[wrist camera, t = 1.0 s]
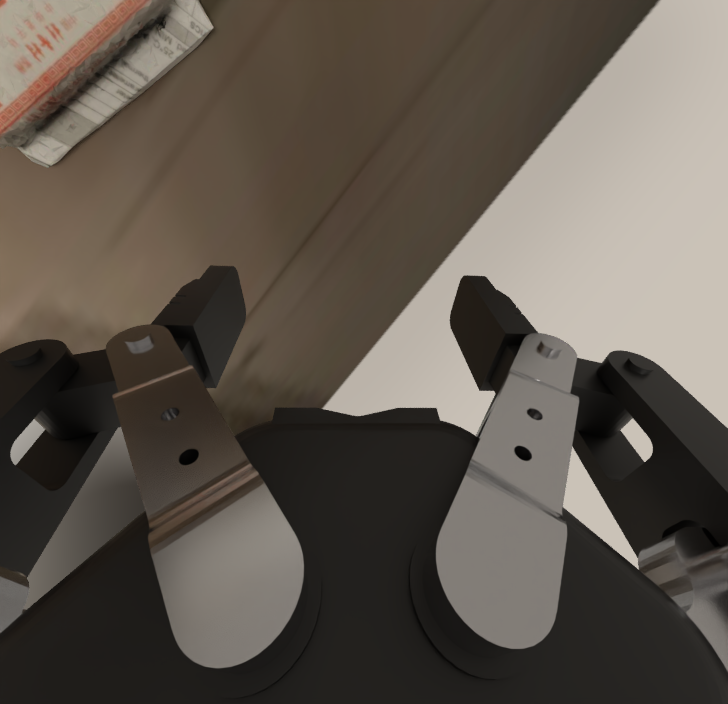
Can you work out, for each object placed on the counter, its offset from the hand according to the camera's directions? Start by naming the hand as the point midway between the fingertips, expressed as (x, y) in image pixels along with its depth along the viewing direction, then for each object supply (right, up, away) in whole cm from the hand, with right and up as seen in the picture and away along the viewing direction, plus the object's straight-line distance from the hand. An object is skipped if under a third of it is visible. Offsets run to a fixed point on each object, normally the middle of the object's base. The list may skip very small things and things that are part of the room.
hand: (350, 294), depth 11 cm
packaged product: (-21, +21, +10) cm, 32 cm away
